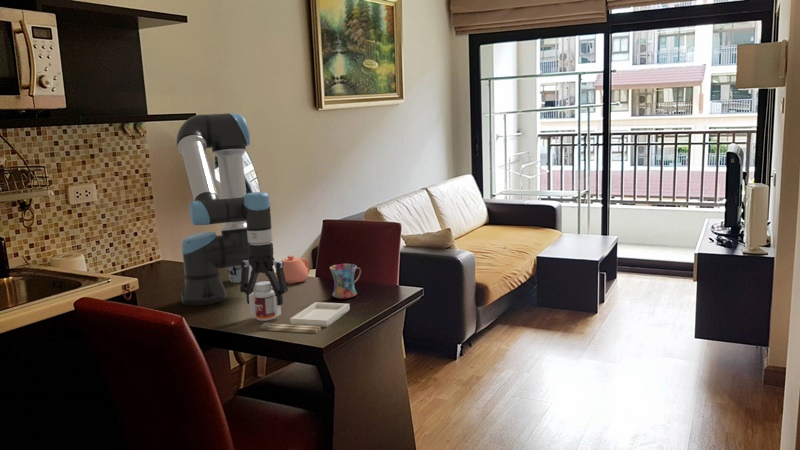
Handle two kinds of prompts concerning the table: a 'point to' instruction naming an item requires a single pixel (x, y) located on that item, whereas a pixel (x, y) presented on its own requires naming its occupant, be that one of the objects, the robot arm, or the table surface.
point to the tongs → (290, 328)
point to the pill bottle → (264, 301)
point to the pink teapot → (295, 269)
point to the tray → (320, 314)
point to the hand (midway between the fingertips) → (265, 314)
